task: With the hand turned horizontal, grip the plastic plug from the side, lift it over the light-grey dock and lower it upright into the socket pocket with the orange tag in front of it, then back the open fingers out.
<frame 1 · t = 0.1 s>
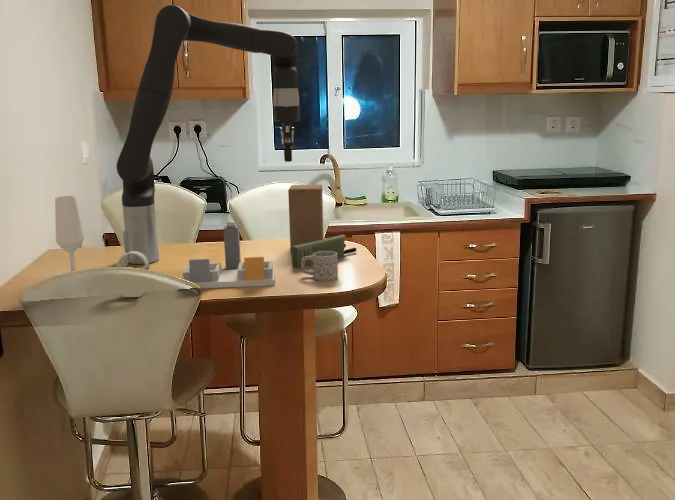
hand: (288, 160, 201), 29 cm above the table, tool pointing down, fingers open, 8 cm apart
champagne flute: (75, 289, 176), on the table
charging dock: (229, 280, 180), on the table
handheld radio: (326, 261, 201), on the table
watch: (135, 295, 170), on the table
mug: (319, 278, 182), on the table
wooden block: (307, 249, 216), on the table
plug: (233, 267, 194), on the table
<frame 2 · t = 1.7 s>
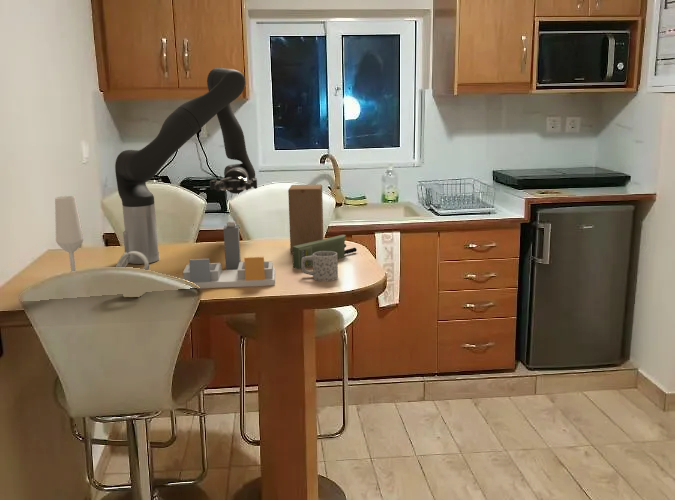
hand: (232, 187, 201), 22 cm above the table, tool horizontal, fingers open, 8 cm apart
nothing on the table moved.
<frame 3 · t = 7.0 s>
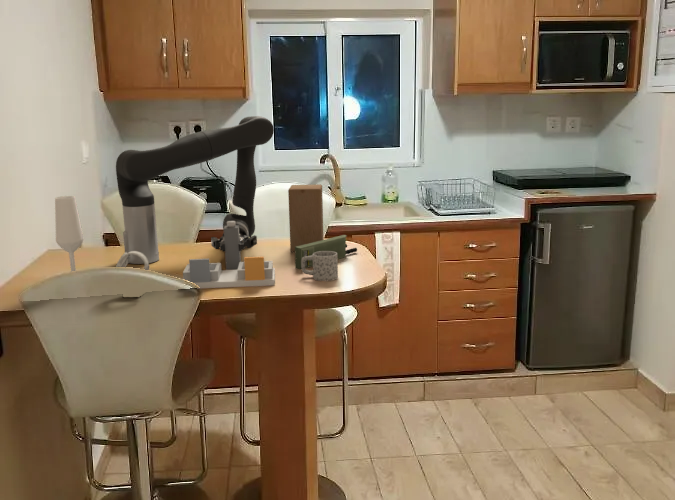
hand: (231, 247, 190), 7 cm above the table, tool horizontal, fingers closed on plug, 4 cm apart
plug: (233, 267, 194), on the table, touching gripper
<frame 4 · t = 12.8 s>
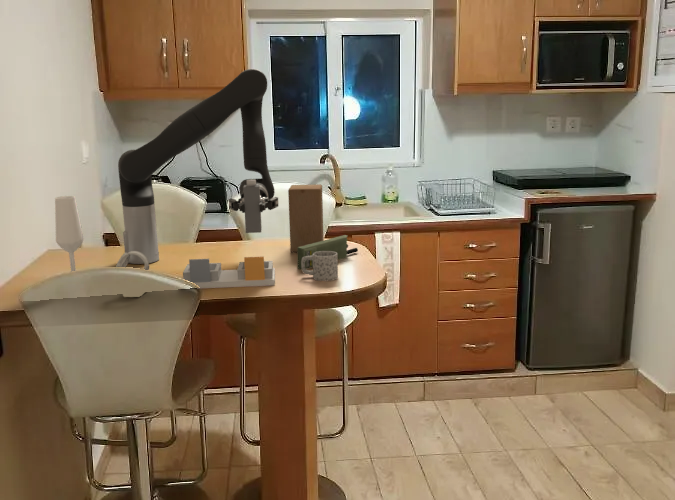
hand: (252, 208, 174), 20 cm above the table, tool horizontal, fingers closed on plug, 4 cm apart
plug: (253, 231, 178), point 13 cm above the table, touching gripper
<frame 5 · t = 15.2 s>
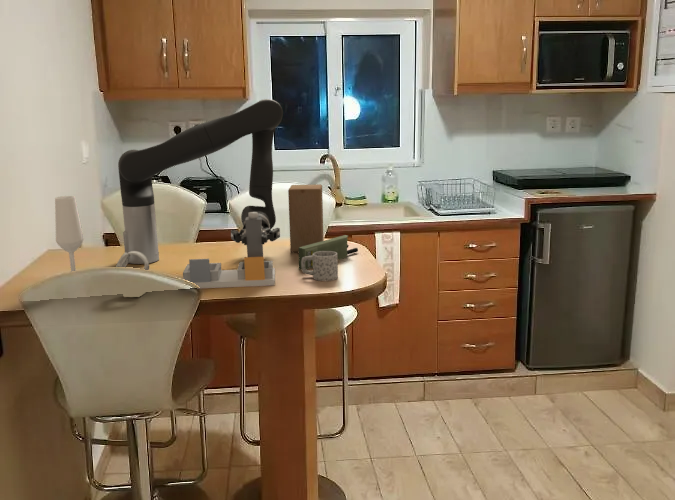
hand: (254, 240, 176), 11 cm above the table, tool horizontal, fingers closed on plug, 4 cm apart
plug: (255, 262, 180), point 5 cm above the table, touching gripper
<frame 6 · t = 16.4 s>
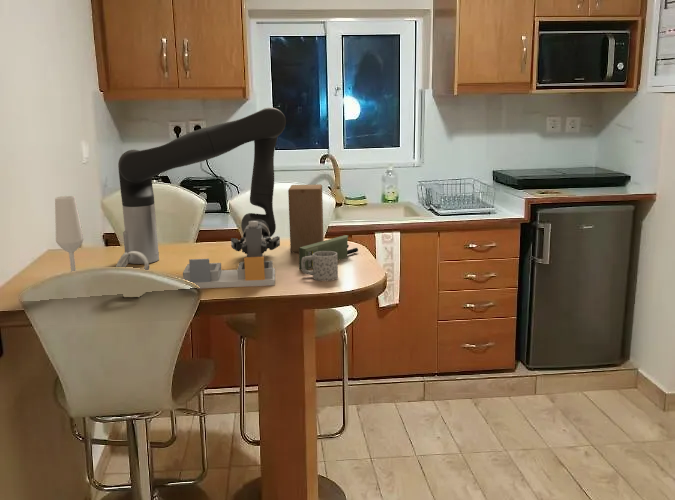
hand: (254, 249, 176), 9 cm above the table, tool horizontal, fingers closed on plug, 3 cm apart
plug: (255, 271, 180), point 2 cm above the table, touching gripper
when the fingers open (9 cm above the table, at t = 16.5 s): plug stays where it is, resting on charging dock.
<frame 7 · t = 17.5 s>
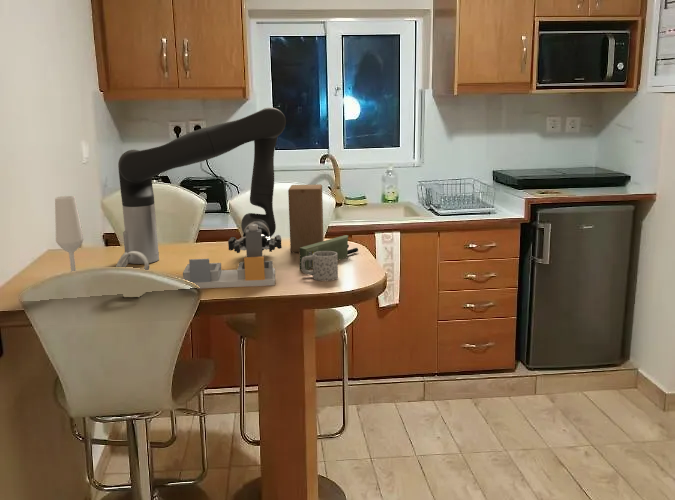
hand: (254, 248, 177), 9 cm above the table, tool horizontal, fingers open, 8 cm apart
plug: (255, 274, 180), point 1 cm above the table, touching charging dock
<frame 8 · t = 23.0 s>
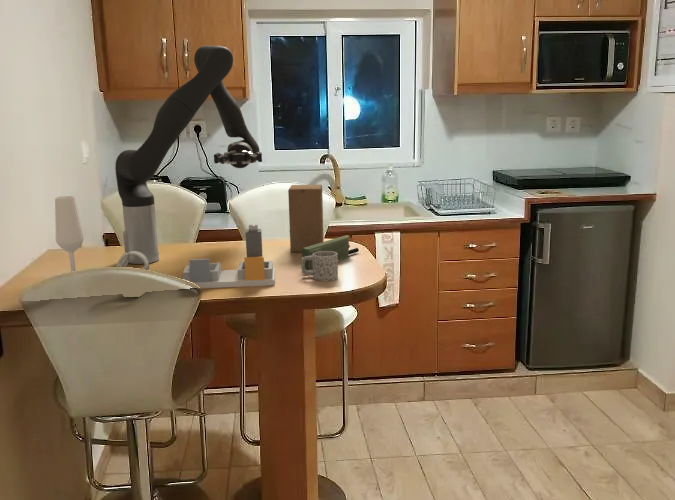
hand: (236, 159, 196), 30 cm above the table, tool horizontal, fingers open, 8 cm apart
at the end: plug 0.1 cm from the target spot on the charging dock, point 1.5 cm above the charging dock's base; plug tilted 0°; the gripper is holding nothing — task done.
